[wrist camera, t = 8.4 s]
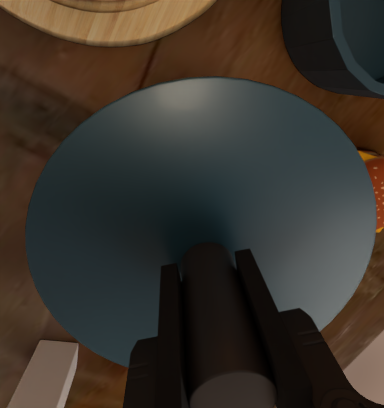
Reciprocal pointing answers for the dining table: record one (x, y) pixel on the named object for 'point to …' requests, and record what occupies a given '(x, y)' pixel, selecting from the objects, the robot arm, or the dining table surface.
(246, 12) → the dining table surface
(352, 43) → the blue pot
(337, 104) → the dining table surface
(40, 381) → the milk
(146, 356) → the robot arm
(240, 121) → the lid
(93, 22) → the wooden plate
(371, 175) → the hamburger
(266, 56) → the dining table surface
